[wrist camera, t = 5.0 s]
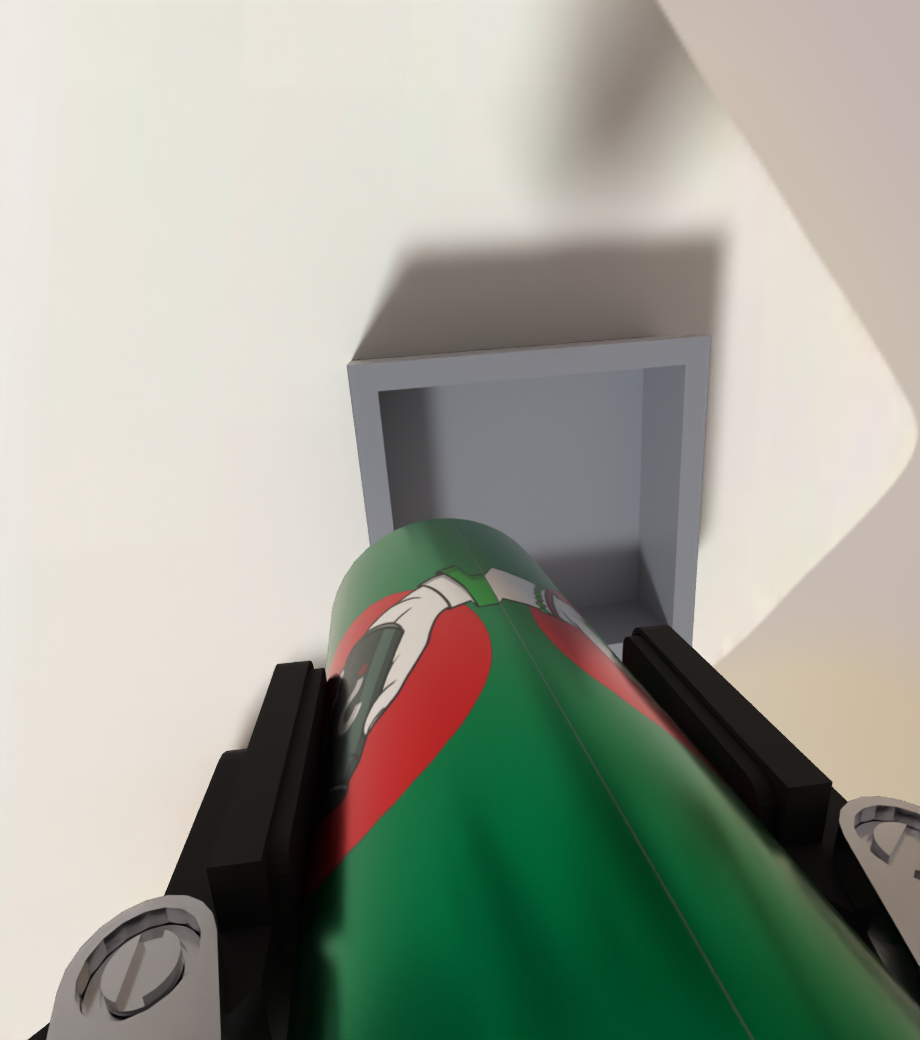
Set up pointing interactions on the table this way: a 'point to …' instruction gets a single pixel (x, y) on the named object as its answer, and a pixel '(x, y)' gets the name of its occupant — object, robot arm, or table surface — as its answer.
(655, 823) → the soda can
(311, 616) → the table surface
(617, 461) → the bin
